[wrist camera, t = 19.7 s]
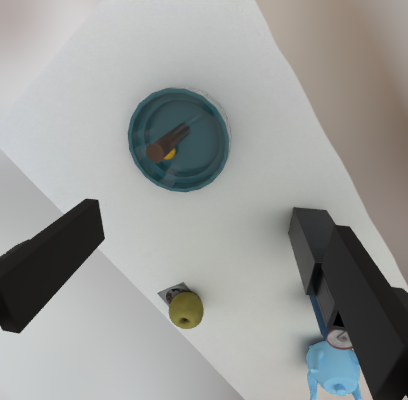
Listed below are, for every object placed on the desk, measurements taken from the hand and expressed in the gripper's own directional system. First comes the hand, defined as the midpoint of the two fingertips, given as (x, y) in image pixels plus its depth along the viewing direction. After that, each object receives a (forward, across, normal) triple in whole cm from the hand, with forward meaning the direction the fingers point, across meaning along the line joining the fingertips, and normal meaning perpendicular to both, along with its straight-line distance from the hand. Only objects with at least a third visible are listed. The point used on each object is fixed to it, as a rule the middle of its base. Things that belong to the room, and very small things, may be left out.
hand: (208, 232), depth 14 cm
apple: (+32, -8, -41) cm, 53 cm away
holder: (+33, +15, -17) cm, 40 cm away
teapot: (+33, +27, -52) cm, 67 cm away
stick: (+31, -9, 0) cm, 33 cm away
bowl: (+32, -9, -2) cm, 33 cm away
